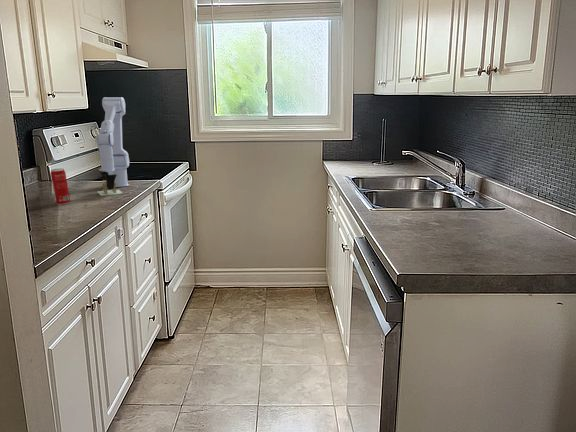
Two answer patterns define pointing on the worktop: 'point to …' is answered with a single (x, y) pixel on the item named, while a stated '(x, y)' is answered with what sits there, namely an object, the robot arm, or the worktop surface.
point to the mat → (109, 193)
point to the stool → (106, 187)
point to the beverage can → (60, 186)
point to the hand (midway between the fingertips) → (109, 187)
